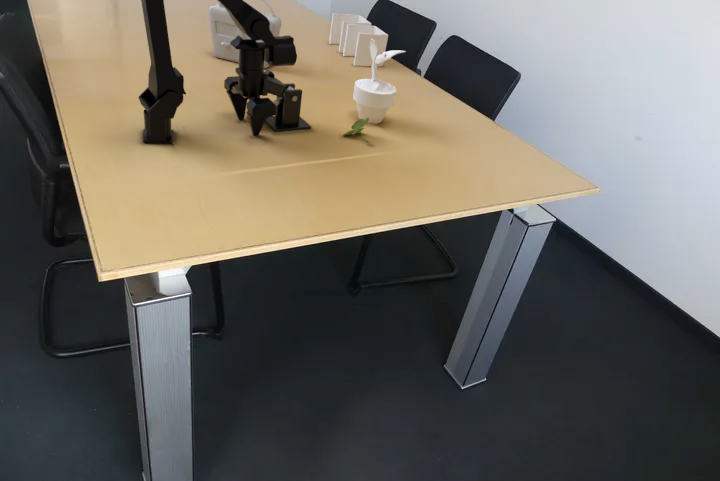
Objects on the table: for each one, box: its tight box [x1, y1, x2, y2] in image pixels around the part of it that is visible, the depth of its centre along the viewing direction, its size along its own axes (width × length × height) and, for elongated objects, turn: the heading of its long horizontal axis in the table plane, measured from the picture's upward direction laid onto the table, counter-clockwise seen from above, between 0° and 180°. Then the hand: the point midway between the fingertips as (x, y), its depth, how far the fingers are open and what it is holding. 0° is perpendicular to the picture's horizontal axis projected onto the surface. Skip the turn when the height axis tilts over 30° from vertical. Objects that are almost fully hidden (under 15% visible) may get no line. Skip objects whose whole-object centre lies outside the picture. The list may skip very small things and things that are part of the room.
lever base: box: [264, 82, 312, 133], centre depth 142 cm, size 10×8×10 cm
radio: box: [208, 0, 282, 69], centre depth 174 cm, size 22×8×25 cm, turn 76°
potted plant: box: [352, 35, 407, 125], centre depth 151 cm, size 13×12×25 cm
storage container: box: [328, 12, 389, 67], centre depth 205 cm, size 25×11×11 cm, turn 24°
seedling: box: [342, 118, 370, 143], centre depth 144 cm, size 7×8×7 cm
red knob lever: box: [245, 86, 294, 124], centre depth 139 cm, size 14×3×3 cm
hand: (248, 128), depth 140 cm, fingers open, 9 cm apart
